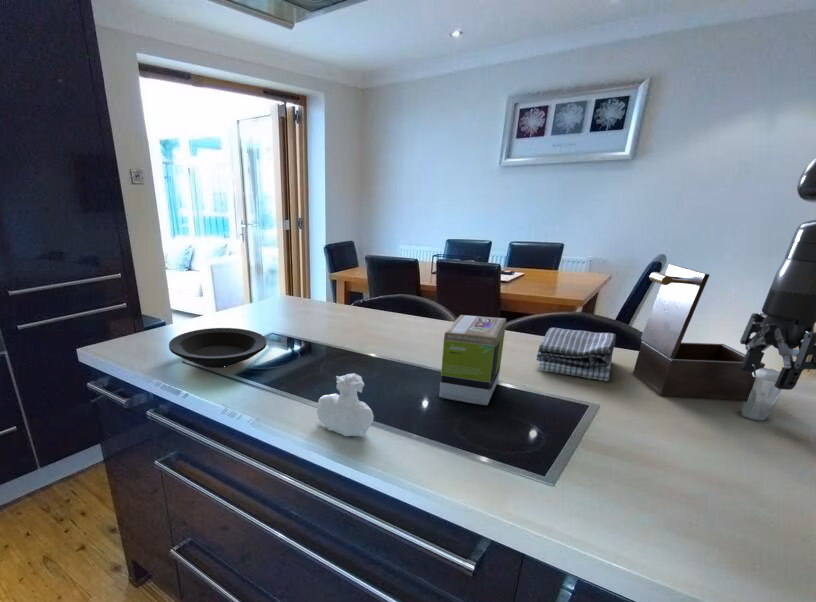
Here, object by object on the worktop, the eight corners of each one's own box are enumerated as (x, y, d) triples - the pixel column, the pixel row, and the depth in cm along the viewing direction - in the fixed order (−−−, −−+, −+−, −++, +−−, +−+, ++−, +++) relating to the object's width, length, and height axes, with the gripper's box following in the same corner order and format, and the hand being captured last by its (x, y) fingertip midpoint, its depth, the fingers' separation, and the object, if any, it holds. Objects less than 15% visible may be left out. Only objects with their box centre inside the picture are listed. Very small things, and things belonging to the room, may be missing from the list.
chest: (711, 377, 98) (723, 343, 95) (750, 400, 87) (765, 364, 84) (632, 373, 102) (641, 341, 98) (660, 395, 90) (671, 360, 87)
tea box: (453, 374, 104) (460, 312, 98) (499, 381, 100) (509, 317, 94) (437, 398, 92) (444, 330, 87) (488, 407, 88) (498, 336, 82)
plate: (154, 360, 120) (151, 340, 117) (228, 340, 134) (226, 322, 132) (208, 389, 100) (205, 366, 98) (287, 362, 115) (286, 342, 113)
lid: (673, 264, 92) (644, 262, 92) (710, 274, 80) (676, 271, 81) (644, 339, 98) (617, 336, 99) (674, 358, 87) (644, 354, 88)
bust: (373, 447, 79) (395, 389, 81) (356, 438, 73) (379, 376, 75) (321, 428, 86) (341, 375, 88) (301, 418, 80) (323, 362, 82)
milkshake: (725, 409, 84) (744, 360, 80) (758, 411, 83) (779, 362, 79) (741, 420, 80) (762, 369, 76) (777, 423, 79) (800, 371, 75)
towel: (612, 359, 110) (620, 329, 107) (607, 384, 96) (616, 350, 93) (544, 349, 118) (550, 321, 115) (531, 371, 105) (537, 339, 102)
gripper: (872, 297, 65) (824, 397, 71) (796, 280, 78) (761, 366, 84) (810, 296, 66) (768, 394, 73) (746, 280, 79) (715, 364, 86)
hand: (764, 379), depth 78 cm, fingers open, 8 cm apart
